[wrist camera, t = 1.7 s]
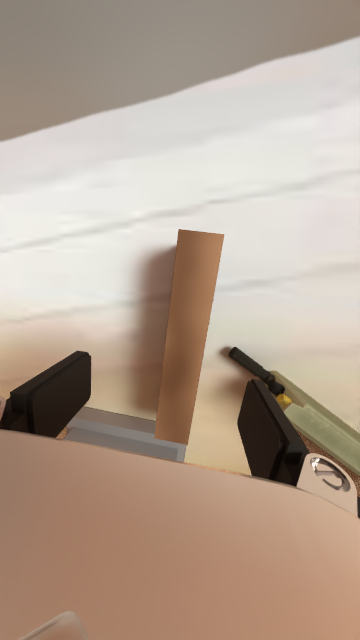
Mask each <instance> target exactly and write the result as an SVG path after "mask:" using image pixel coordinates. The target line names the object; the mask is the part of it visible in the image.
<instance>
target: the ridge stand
mask: <svg viewBox="0 0 360 640" xmlns="http://www.w3.org/2000/svg"><path fill="white" fill-rule="evenodd" d="M155 427H156V421H152V420H147V419H142V418H137V417H132V416H127V415H122V414H117V413H112V412H107V411H102V410H97V409H92V408H87V407H82V408H81V409H80V411H79V412H78V413H77V414H76V415H75V416H74V417H73V419H72V420H71V421H70V422H69V423H68V424H67V435H66V437H65V438H64V439H63V440H69V441H74V442H80V443H85V444H91V445H96V446H102V447H107V448H112V449H118V450H123V451H128V452H134V453H139V454H144V455H149V456H155V457H160V458H165V459H170V460H175V461H180V462H184V457H185V451H186V446H187V445H185V444H180V443H175V442H170V441H165V440H160V439H155V438H154V436H155Z"/></svg>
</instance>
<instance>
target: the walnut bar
mask: <svg viewBox="0 0 360 640" xmlns="http://www.w3.org/2000/svg"><path fill="white" fill-rule="evenodd" d="M223 239H224V234H216V233H207V232H198V231H190V230H181V229H179V231H178V239H177V248H176V256H175V265H174V274H173V282H172V291H171V299H170V308H169V316H168V325H167V333H166V342H165V350H164V359H163V367H162V376H161V385H160V393H159V402H158V410H157V419H156V427H155V436H154V438H155V439H160V440H165V441H170V442H175V443H180V444H185V445H188V440H189V434H190V428H191V422H192V417H193V411H194V405H195V400H196V394H197V388H198V382H199V377H200V371H201V365H202V360H203V354H204V348H205V342H206V337H207V331H208V325H209V319H210V314H211V308H212V302H213V297H214V291H215V285H216V279H217V274H218V268H219V262H220V257H221V251H222V245H223Z"/></svg>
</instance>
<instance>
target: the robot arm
mask: <svg viewBox="0 0 360 640" xmlns="http://www.w3.org/2000/svg"><path fill="white" fill-rule="evenodd" d="M90 395H91V356H90V355H89V353H88V352H82V351H76V352H75V353H73V354H71V355H70V356H68V357H66V358H65V359H63V360H62V361H60V362H58V363H57V364H55V365H53V366H52V367H50V368H49V369H47V370H45V371H44V372H42V373H40V374H39V375H37V376H36V377H34V378H32V379H31V380H29V381H28V382H26V383H24V384H23V385H21V386H19V387H18V388H16V389H15V390H13V391H11V392H10V398H9V399H7V400H6V399H5V398H3V397H0V640H360V498H359V497H358V496H357V490H356V486H355V484H354V482H353V480H352V479H351V478H350V476H349V475H348V474H347V473H346V472H345V471H344V470H343V469H342V468H341V467H340V466H339V465H337V464H336V463H335V462H333V461H332V460H330V459H328V458H326V457H325V456H322V455H319V454H315V453H311V454H310V452H309V451H308V449H307V448H306V445H305V444H304V442H303V441H302V439H301V438H300V436H299V435H298V433H297V431H296V430H295V428H294V427H293V425H292V424H291V422H290V421H289V419H288V418H287V416H286V415H285V413H284V412H283V410H282V409H281V407H280V406H279V404H278V403H277V401H276V400H275V398H274V397H273V395H272V394H271V392H270V391H269V389H268V388H267V386H266V385H265V383H264V382H263V381H260V380H254V379H252V380H251V382H250V381H248V383H247V386H246V390H245V394H244V398H243V402H242V405H241V409H240V413H239V417H238V429H239V432H240V436H241V439H242V443H243V446H244V450H245V453H246V457H247V460H248V464H249V467H250V470H251V474H252V476H250V475H245V474H240V473H236V472H231V471H226V470H221V469H216V468H211V467H206V466H201V465H196V464H191V463H185V462H180V461H175V460H170V459H165V458H160V457H155V456H149V455H144V454H139V453H134V452H128V451H123V450H118V449H112V448H107V447H102V446H96V445H91V444H85V443H80V442H74V441H69V440H63V439H58V438H56V437H57V436H58V435H59V433H60V432H61V431H62V430H63V429H64V428H65V427H66V425H67V424H68V423H69V422H70V421H71V420H72V419H73V417H74V416H75V415H76V414H77V413H78V412H79V411H80V409H81V408H82V407H83V406H84V405H85V404H86V402H87V401H88V400H89V398H90Z"/></svg>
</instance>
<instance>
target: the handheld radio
mask: <svg viewBox="0 0 360 640" xmlns="http://www.w3.org/2000/svg"><path fill="white" fill-rule="evenodd" d="M229 356H230V357H231V358H232V359H234V360H235V361H236V362H238V363H239V364H240V365H242V366H243V367H244V368H246V369H247V370H248V371H250V372H251V373H252V374H254V375H255V376H257V377H259V378H260V379H261V380H262V381H263V382H264V383H265V385H266V386H267V388H268V389H269V391H270V392H271V394H272V395H273V397H274V398H275V400H276V401H277V403H278V404H279V406H280V407H281V409H282V410H283V412H284V413H285V415H286V416H287V418H288V419H289V421H290V422H291V424H292V425H293V427H294V428H295V429H296V430H297V431H299V432H300V433H301V434H302V435H303V436H304V437H306V438H307V439H309V440H310V441H311V442H313V443H314V444H315V445H317V446H318V447H320V448H321V449H322V450H324V451H325V452H326V453H328V454H329V455H330V456H332V457H333V458H334V459H336V460H337V461H339V462H340V463H341V464H343V465H344V466H345V467H347V468H348V469H350V470H351V471H352V472H354V473H355V474H356V475H358V476H359V477H360V434H359V433H358V432H357V431H355V430H354V429H353V428H351V427H350V426H349V425H347V424H346V423H345V422H343V421H342V420H341V419H339V418H338V417H337V416H335V415H334V414H333V413H331V412H330V411H329V410H327V409H326V408H325V407H323V406H322V405H321V404H319V403H318V402H317V401H315V400H314V399H313V398H312V397H310V396H309V395H308V394H306V393H305V392H304V391H302V390H301V389H300V388H298V387H297V386H296V385H294V384H293V383H292V382H290V381H289V380H288V379H286V378H285V377H284V376H282V375H281V374H280V373H278V372H277V371H271V372H268V371H266V370H265V369H263V367H262V366H261V365H259V364H258V363H257V362H255V361H254V360H253V359H251V358H250V357H249V356H247V355H246V354H245V353H243V352H242V351H241V350H239V349H238V348H237V347H234V348H232V349H231V350H230V352H229Z"/></svg>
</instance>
